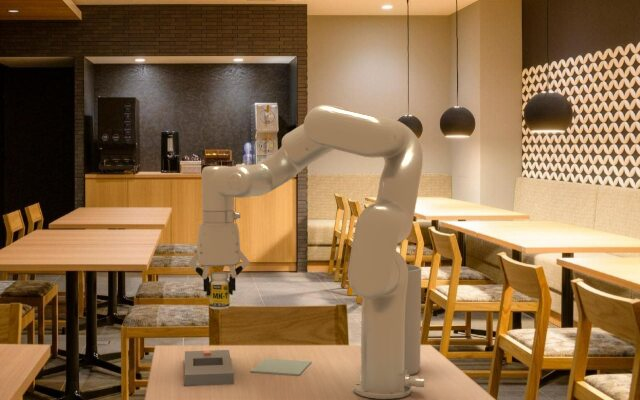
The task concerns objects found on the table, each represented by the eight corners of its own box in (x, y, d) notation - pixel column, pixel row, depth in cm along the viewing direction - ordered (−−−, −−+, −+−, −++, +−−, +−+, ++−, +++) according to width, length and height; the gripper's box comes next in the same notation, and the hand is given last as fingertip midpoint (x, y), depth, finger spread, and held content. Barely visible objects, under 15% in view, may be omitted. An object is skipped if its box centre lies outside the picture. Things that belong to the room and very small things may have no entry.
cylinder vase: (368, 377, 198) (369, 271, 197) (367, 363, 211) (368, 263, 209) (422, 377, 198) (423, 271, 196) (417, 364, 210) (418, 264, 209)
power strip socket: (184, 361, 212) (184, 348, 212) (228, 359, 214) (228, 347, 214) (184, 385, 191) (184, 372, 190) (233, 383, 192) (233, 370, 192)
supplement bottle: (211, 310, 199) (210, 274, 198) (208, 306, 203) (207, 271, 203) (231, 308, 200) (230, 273, 200) (228, 305, 205) (227, 270, 204)
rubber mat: (311, 362, 211) (311, 361, 211) (299, 375, 199) (299, 374, 199) (265, 360, 214) (265, 358, 214) (250, 372, 202) (250, 370, 202)
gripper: (253, 216, 205) (254, 290, 206) (182, 217, 203) (183, 292, 204) (255, 218, 198) (256, 295, 199) (181, 220, 196) (183, 298, 197)
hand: (219, 293), depth 202 cm, fingers closed on supplement bottle, 4 cm apart
